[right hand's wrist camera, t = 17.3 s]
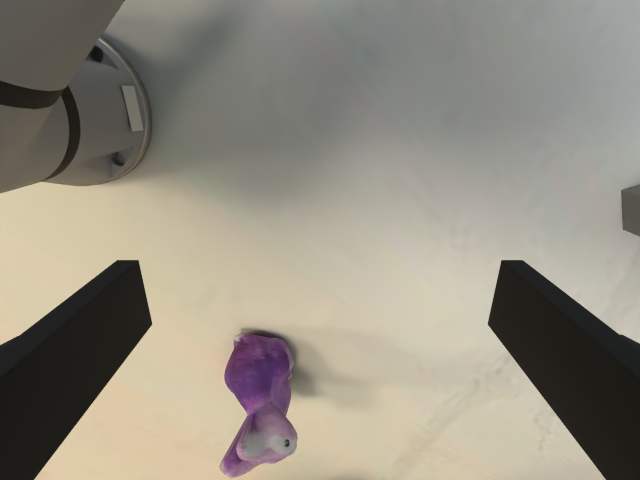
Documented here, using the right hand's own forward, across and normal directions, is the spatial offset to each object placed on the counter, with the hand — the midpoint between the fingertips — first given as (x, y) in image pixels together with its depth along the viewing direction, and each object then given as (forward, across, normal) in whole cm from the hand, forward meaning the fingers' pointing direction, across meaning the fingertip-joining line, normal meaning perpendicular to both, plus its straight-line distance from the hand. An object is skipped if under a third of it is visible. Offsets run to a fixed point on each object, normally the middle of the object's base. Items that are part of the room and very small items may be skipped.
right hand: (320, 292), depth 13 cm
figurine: (+27, -7, -26) cm, 38 cm away
